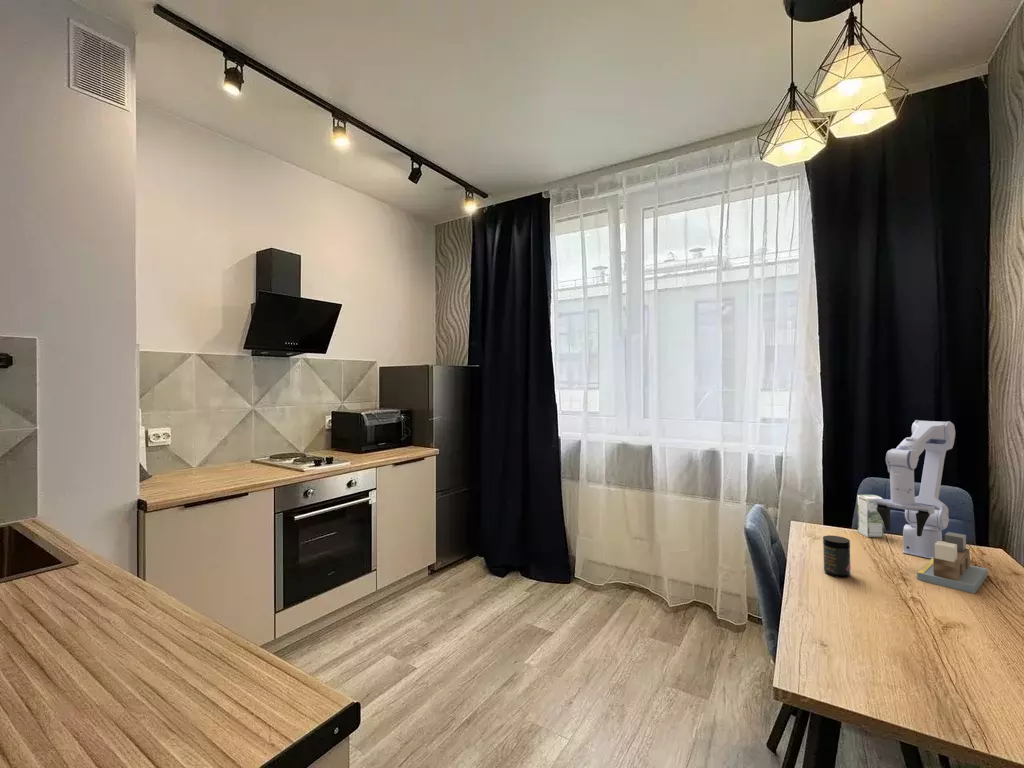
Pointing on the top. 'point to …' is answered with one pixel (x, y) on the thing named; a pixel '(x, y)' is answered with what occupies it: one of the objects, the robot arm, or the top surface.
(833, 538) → the supplement container
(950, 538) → the gray cube
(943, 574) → the brown piece
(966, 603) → the top surface
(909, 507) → the robot arm
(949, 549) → the cream block
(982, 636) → the top surface
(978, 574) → the dock
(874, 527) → the syrup box
